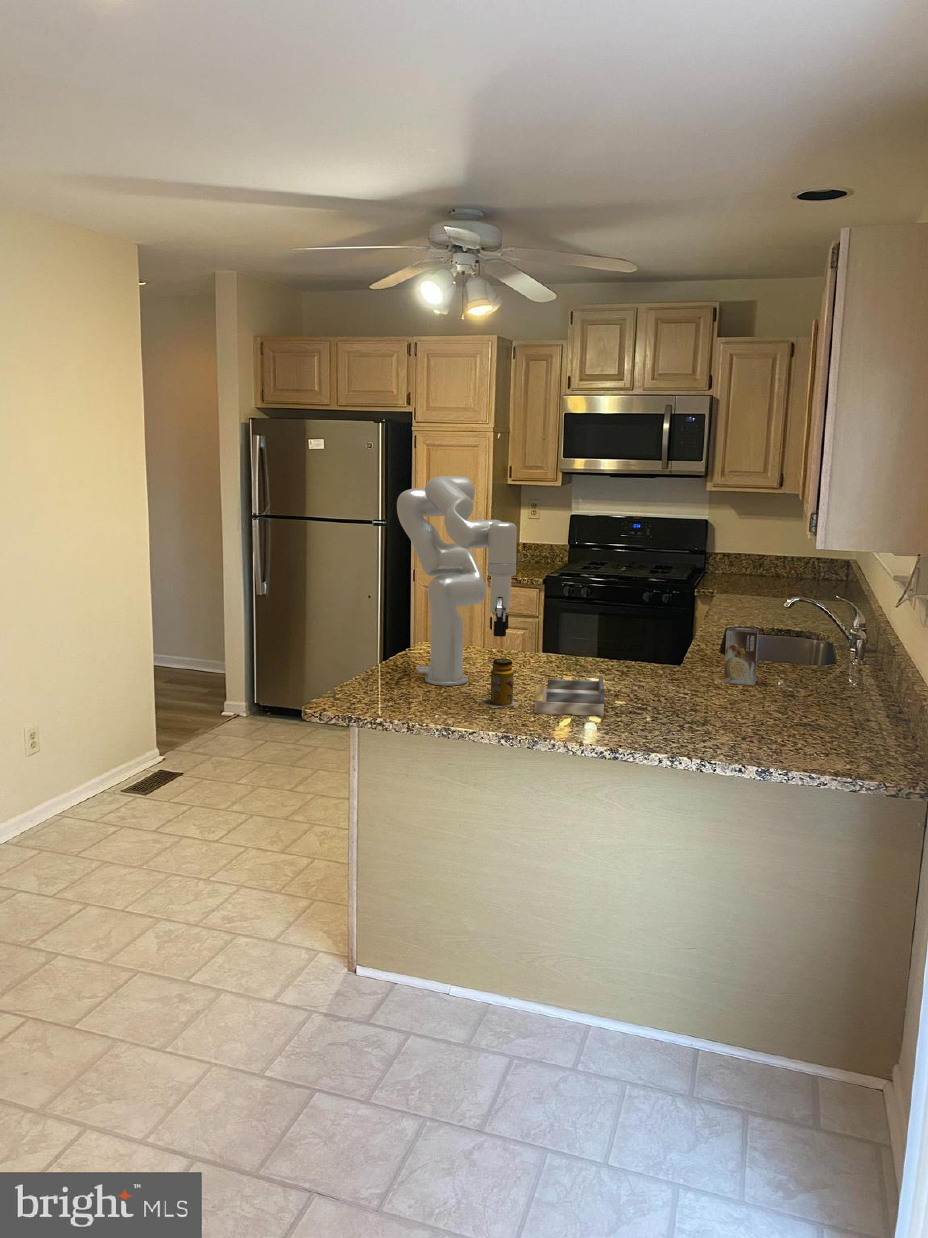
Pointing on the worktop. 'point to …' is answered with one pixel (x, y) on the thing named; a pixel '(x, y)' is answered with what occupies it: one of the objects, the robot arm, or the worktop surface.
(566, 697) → the dock
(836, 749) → the worktop surface
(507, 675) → the condiment
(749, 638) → the coffee box
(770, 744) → the worktop surface
